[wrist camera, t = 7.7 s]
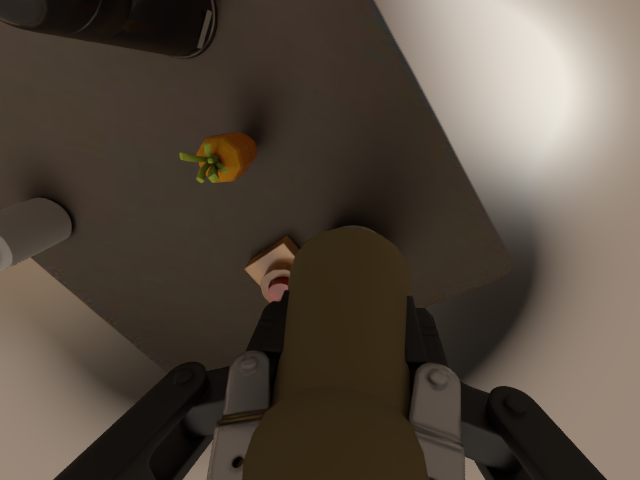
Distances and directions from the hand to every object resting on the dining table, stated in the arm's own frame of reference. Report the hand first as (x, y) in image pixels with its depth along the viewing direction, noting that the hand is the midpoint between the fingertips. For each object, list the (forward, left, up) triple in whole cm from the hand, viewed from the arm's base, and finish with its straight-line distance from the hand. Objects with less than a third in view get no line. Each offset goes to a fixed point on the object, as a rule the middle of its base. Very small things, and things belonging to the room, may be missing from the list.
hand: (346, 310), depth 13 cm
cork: (0, 0, -3) cm, 3 cm away
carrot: (-10, -10, -30) cm, 33 cm away
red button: (+8, -18, -26) cm, 33 cm away
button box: (+8, -18, -30) cm, 36 cm away
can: (-21, -45, -30) cm, 58 cm away
